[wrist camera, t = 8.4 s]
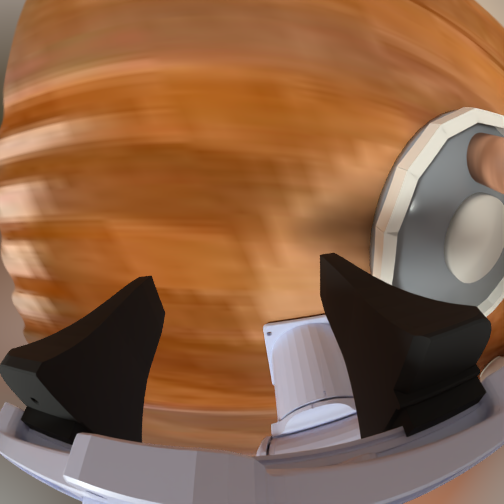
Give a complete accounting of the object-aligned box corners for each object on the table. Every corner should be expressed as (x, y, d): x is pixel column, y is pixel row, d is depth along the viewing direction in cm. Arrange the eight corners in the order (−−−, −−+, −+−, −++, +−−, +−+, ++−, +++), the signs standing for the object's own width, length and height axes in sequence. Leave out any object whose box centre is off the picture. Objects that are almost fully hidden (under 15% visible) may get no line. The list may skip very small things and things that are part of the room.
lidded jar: (488, 379, 36) (504, 408, 28) (463, 389, 35) (480, 422, 27) (514, 344, 32) (535, 372, 23) (492, 350, 31) (516, 384, 22)
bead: (494, 183, 17) (526, 198, 13) (465, 183, 17) (501, 199, 13) (495, 135, 15) (529, 144, 11) (466, 130, 15) (504, 138, 11)
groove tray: (500, 301, 25) (509, 311, 23) (358, 349, 26) (365, 365, 24) (528, 126, 15) (543, 130, 12) (363, 96, 16) (378, 93, 13)
